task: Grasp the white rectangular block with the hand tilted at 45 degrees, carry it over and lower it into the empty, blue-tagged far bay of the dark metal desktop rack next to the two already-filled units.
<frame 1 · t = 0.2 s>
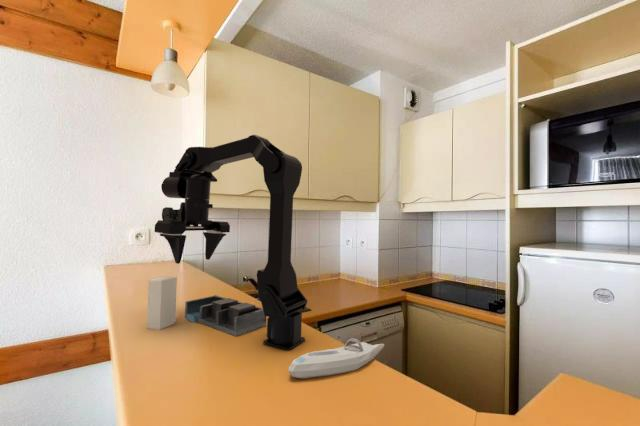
hand: (193, 261, 79), 14 cm above the worktop, tool pointing down, fingers open, 9 cm apart
rack: (224, 321, 78), on the worktop
white rectangular block: (161, 325, 74), on the worktop
white toy boat: (340, 364, 58), on the worktop
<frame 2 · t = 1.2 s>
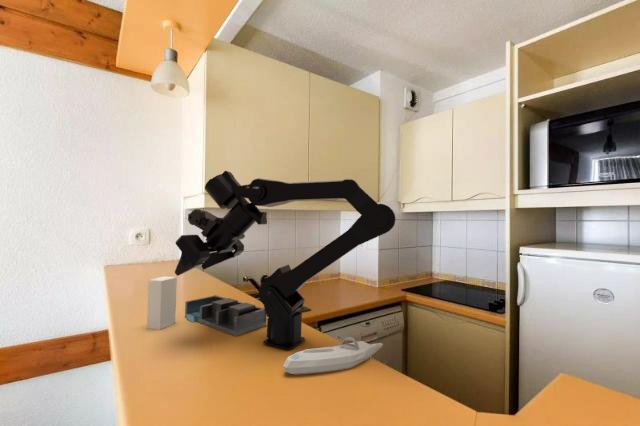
hand: (190, 270, 72), 13 cm above the worktop, tool tilted 45°, fingers open, 9 cm apart
white toy boat: (336, 362, 59), on the worktop
everything else where it was.
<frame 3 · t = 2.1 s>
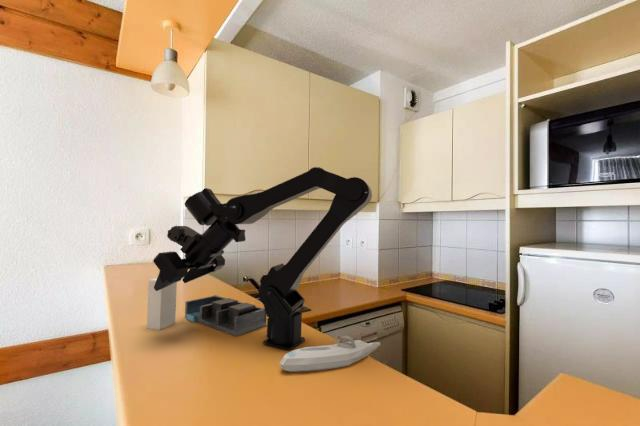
hand: (170, 285, 73), 10 cm above the worktop, tool tilted 45°, fingers open, 9 cm apart
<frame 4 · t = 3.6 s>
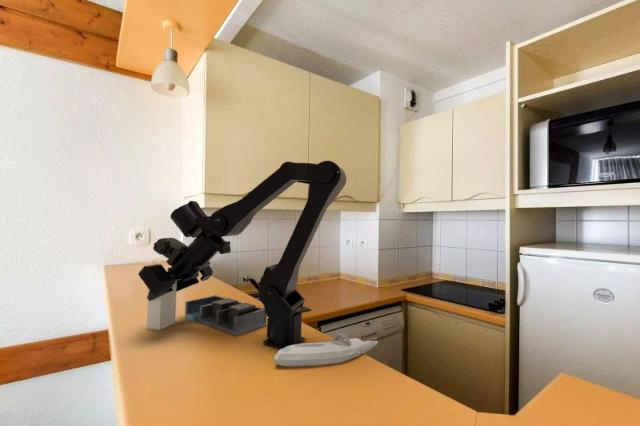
hand: (157, 296, 74), 7 cm above the worktop, tool tilted 45°, fingers closed on white rectangular block, 5 cm apart
white rectangular block: (161, 325, 74), on the worktop, touching gripper
white toy boat: (328, 357, 61), on the worktop
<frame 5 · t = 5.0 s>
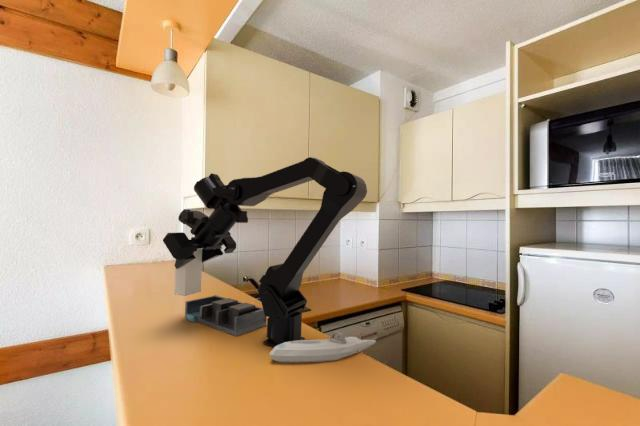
hand: (184, 265, 79), 13 cm above the worktop, tool tilted 45°, fingers closed on white rectangular block, 5 cm apart
white rectangular block: (187, 293, 78), point 7 cm above the worktop, touching gripper
white toy boat: (325, 354, 62), on the worktop
when the fingers open (8 cm above the worktop, at t = 6.9 s): white rectangular block stays where it is, resting on rack.
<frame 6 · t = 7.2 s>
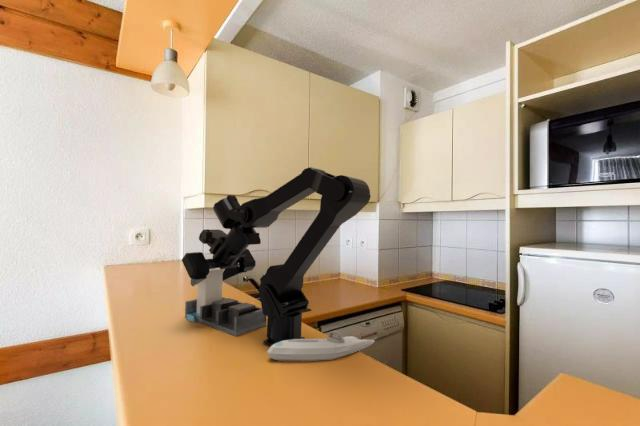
hand: (207, 282, 83), 9 cm above the worktop, tool tilted 45°, fingers open, 8 cm apart
white rectangular block: (209, 311, 82), point 1 cm above the worktop, touching rack
everything else where it was.
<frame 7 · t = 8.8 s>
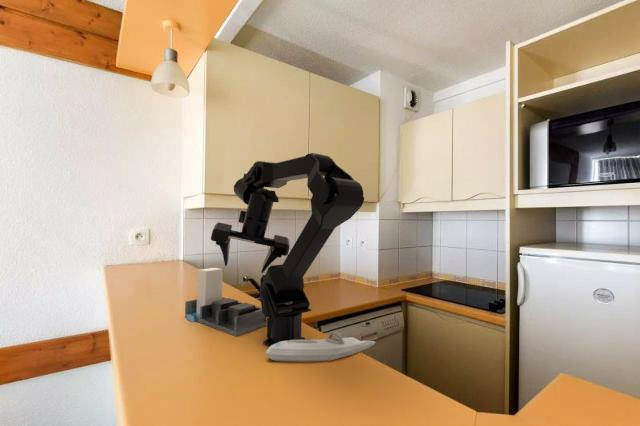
hand: (244, 268, 81), 13 cm above the worktop, tool tilted 25°, fingers open, 9 cm apart
nothing on the worktop moved.
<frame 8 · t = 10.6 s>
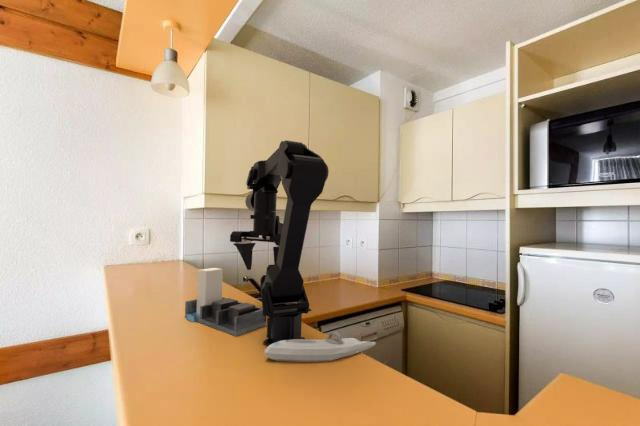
hand: (262, 271, 81), 12 cm above the worktop, tool pointing down, fingers open, 9 cm apart
nothing on the worktop moved.
at the end: white rectangular block 0.2 cm from the target spot on the rack, point 1.1 cm above the rack's base; white rectangular block tilted 0°; the gripper is holding nothing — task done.
